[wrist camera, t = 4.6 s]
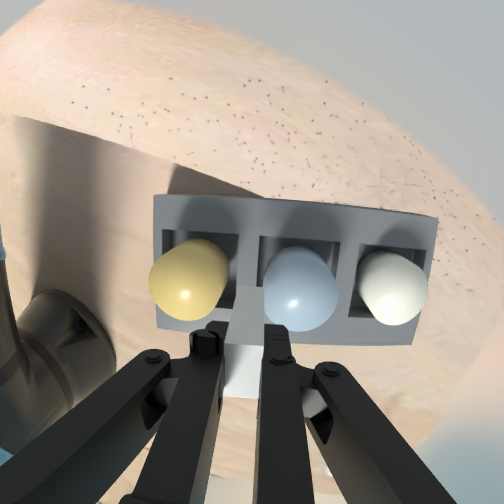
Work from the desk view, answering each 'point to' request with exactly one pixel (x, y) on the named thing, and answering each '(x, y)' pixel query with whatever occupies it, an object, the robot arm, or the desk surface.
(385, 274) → the ivory button
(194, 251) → the ochre button
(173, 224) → the grey compartment tray
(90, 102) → the desk surface
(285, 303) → the light blue rounded dome
